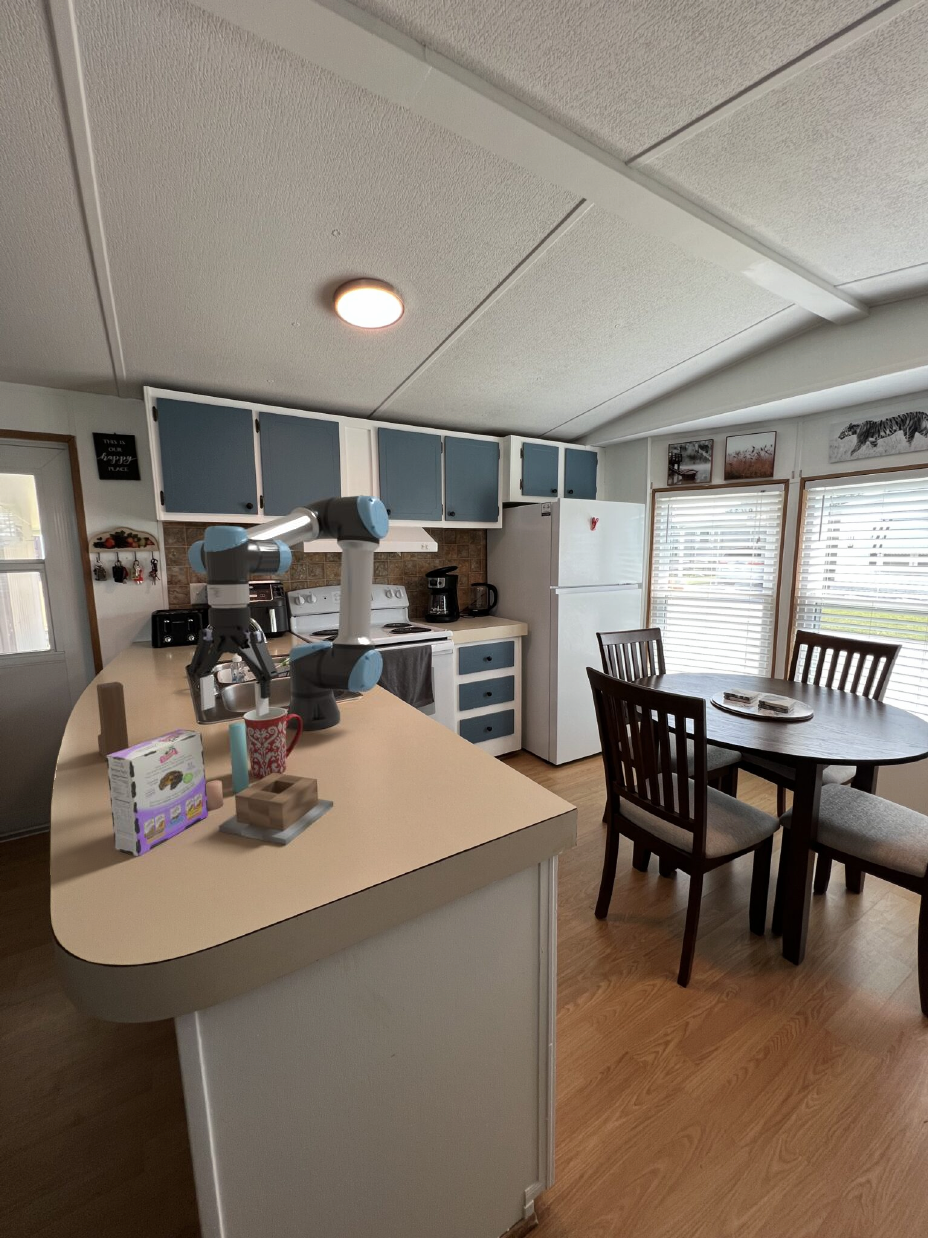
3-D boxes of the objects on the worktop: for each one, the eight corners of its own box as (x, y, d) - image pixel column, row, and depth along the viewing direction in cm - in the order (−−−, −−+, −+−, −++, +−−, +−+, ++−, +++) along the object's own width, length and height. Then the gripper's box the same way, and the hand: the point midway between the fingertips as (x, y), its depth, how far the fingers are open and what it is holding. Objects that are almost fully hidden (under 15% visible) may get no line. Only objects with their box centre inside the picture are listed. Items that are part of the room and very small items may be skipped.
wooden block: (98, 752, 127) (91, 681, 124) (120, 747, 130) (113, 678, 128) (107, 762, 120) (100, 687, 118) (129, 756, 124) (123, 684, 121)
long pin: (240, 786, 107) (236, 721, 105) (252, 788, 106) (248, 723, 104) (229, 792, 104) (225, 726, 103) (241, 794, 103) (237, 727, 102)
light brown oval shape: (214, 801, 101) (213, 779, 100) (226, 803, 100) (225, 781, 99) (202, 808, 98) (200, 786, 97) (214, 810, 97) (213, 788, 96)
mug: (254, 784, 108) (250, 722, 106) (241, 770, 115) (237, 712, 113) (311, 768, 116) (309, 710, 114) (296, 756, 123) (293, 701, 121)
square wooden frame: (273, 795, 103) (271, 767, 102) (333, 806, 98) (332, 776, 97) (219, 831, 90) (217, 798, 89) (286, 845, 85) (284, 811, 84)
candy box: (186, 811, 97) (179, 727, 95) (209, 817, 95) (203, 731, 93) (113, 850, 84) (104, 754, 82) (138, 857, 82) (129, 759, 80)
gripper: (164, 605, 101) (171, 710, 103) (268, 609, 93) (273, 722, 95) (195, 603, 108) (201, 701, 110) (294, 605, 100) (298, 711, 102)
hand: (234, 711), depth 103 cm, fingers open, 13 cm apart
